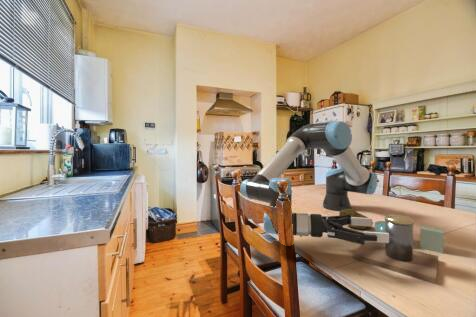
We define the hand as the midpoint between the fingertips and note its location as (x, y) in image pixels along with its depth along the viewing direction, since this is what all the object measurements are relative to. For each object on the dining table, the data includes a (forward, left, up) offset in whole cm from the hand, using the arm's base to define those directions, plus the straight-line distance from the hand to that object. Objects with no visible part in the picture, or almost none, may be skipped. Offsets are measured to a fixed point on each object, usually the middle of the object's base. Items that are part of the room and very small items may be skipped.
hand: (379, 229), depth 71 cm
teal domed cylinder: (0, +19, -10) cm, 21 cm away
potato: (-14, +25, -10) cm, 31 cm away
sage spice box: (+12, +21, -10) cm, 26 cm away
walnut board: (+4, +3, -10) cm, 11 cm away
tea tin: (+5, +3, -8) cm, 10 cm away
